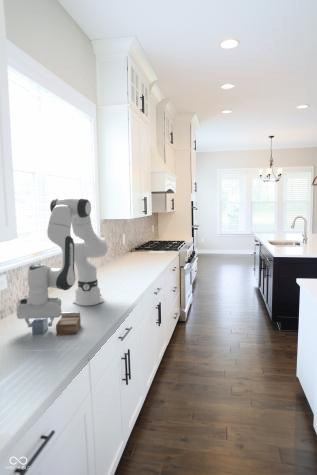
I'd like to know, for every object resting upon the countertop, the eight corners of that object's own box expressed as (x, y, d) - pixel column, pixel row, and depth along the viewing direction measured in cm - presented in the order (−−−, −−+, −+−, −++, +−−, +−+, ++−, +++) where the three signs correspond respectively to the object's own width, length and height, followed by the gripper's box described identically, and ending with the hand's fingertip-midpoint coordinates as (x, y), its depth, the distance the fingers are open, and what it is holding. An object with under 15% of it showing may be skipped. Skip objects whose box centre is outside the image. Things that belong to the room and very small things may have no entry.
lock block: (37, 328, 163) (36, 316, 162) (48, 328, 163) (47, 316, 163) (32, 335, 155) (31, 322, 154) (43, 334, 155) (42, 322, 155)
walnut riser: (62, 326, 166) (61, 312, 165) (80, 325, 166) (80, 311, 166) (56, 335, 154) (55, 320, 153) (76, 334, 154) (75, 319, 154)
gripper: (62, 295, 161) (63, 323, 163) (19, 297, 160) (20, 325, 161) (59, 299, 155) (60, 328, 156) (14, 300, 154) (16, 329, 155)
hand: (40, 326), depth 159 cm, fingers open, 8 cm apart
